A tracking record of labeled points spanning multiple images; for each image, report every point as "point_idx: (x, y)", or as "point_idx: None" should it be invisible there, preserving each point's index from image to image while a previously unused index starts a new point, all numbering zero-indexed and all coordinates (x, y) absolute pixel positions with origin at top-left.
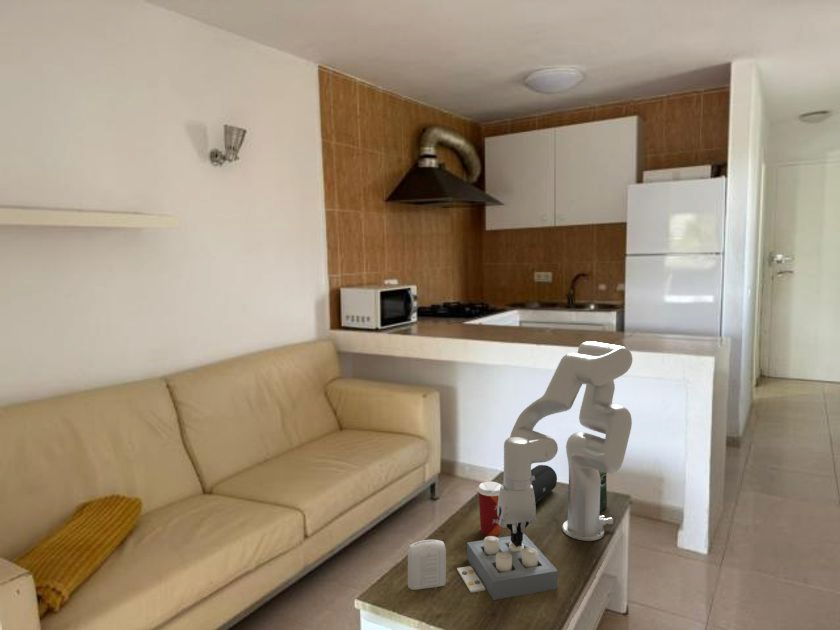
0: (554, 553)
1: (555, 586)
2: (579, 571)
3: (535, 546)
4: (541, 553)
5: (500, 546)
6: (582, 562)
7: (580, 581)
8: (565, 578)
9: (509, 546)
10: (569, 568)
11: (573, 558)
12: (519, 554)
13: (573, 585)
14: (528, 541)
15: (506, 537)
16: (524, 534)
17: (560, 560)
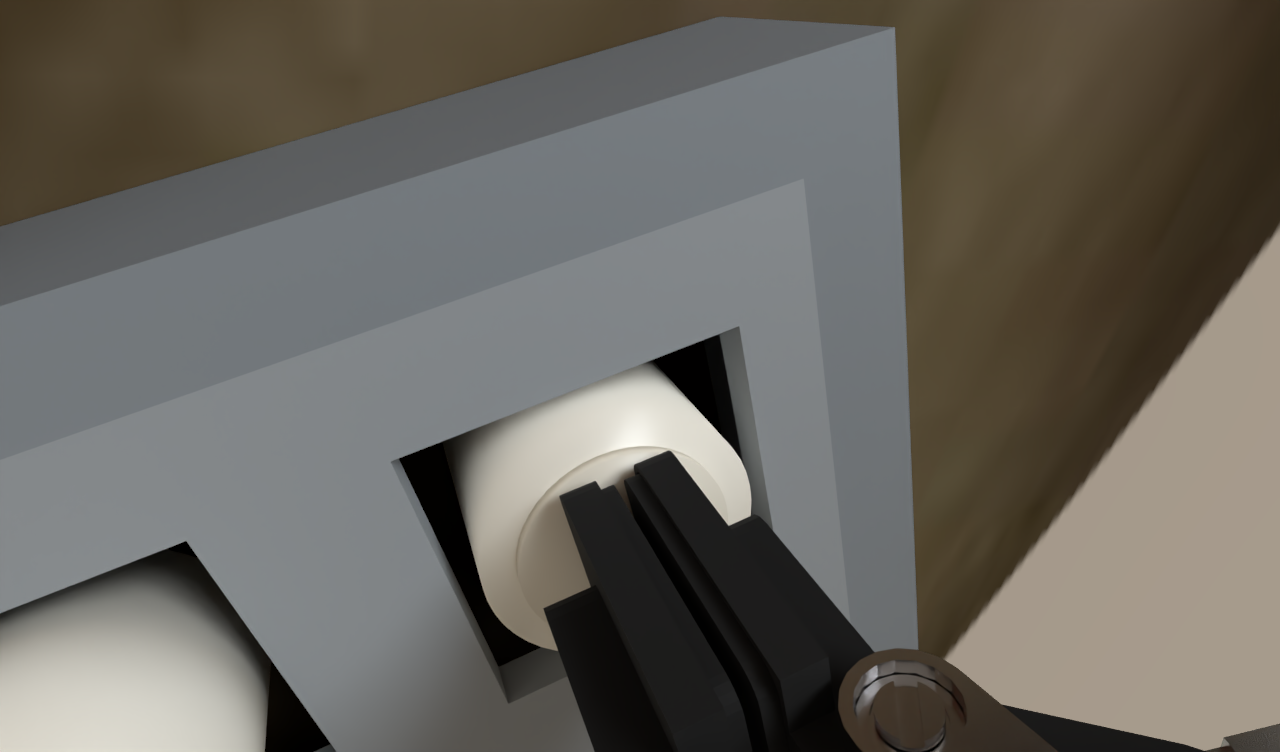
0: (1041, 125)
1: None
2: (1078, 442)
3: (905, 477)
4: (908, 625)
5: (290, 602)
6: (1176, 297)
7: (1013, 571)
8: (932, 560)
9: (484, 592)
10: (1031, 410)
11: (1151, 230)
12: None
13: (944, 629)
14: (860, 344)
15: (450, 209)
16: (882, 59)
17: (1027, 278)
